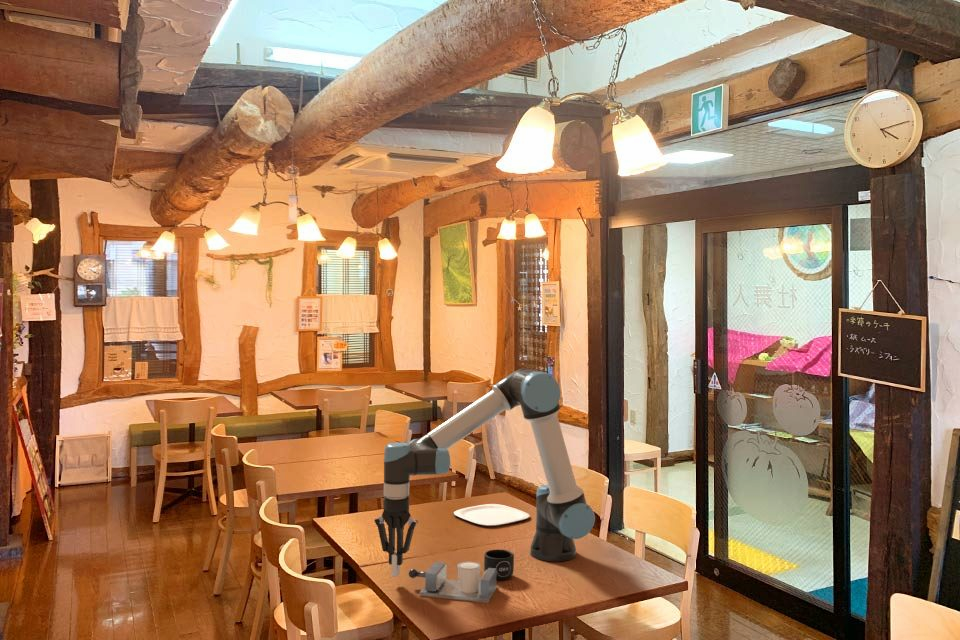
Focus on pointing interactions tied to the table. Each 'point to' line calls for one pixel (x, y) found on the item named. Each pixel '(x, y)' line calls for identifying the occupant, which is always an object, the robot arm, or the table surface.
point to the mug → (500, 563)
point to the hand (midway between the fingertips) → (395, 575)
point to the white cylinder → (468, 576)
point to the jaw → (432, 576)
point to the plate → (491, 514)
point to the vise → (452, 591)
